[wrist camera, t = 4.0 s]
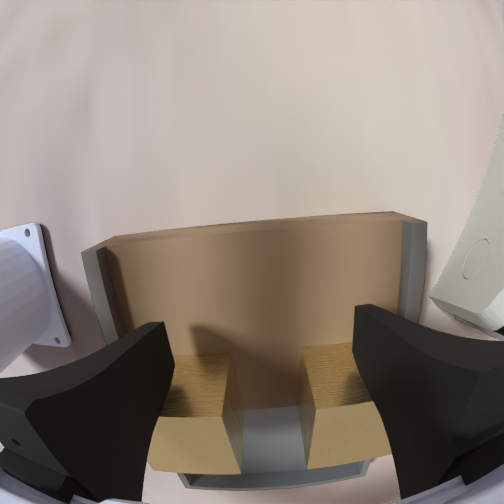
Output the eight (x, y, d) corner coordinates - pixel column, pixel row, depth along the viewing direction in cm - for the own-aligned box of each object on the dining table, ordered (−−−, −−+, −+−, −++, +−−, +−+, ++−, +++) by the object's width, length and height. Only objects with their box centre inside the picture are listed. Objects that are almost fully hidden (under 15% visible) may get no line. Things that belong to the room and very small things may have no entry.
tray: (189, 470, 19) (185, 488, 17) (154, 386, 16) (144, 407, 14) (359, 457, 18) (364, 475, 16) (380, 369, 16) (391, 388, 14)
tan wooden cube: (297, 408, 13) (306, 469, 9) (301, 346, 12) (316, 409, 8) (370, 399, 13) (394, 452, 9) (384, 337, 12) (421, 390, 8)
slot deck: (151, 380, 16) (135, 416, 13) (114, 236, 14) (80, 252, 10) (381, 362, 15) (401, 396, 12) (392, 211, 13) (427, 222, 10)
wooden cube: (171, 414, 14) (153, 470, 10) (147, 356, 13) (117, 413, 9) (244, 412, 13) (241, 474, 9) (230, 352, 12) (221, 416, 8)
